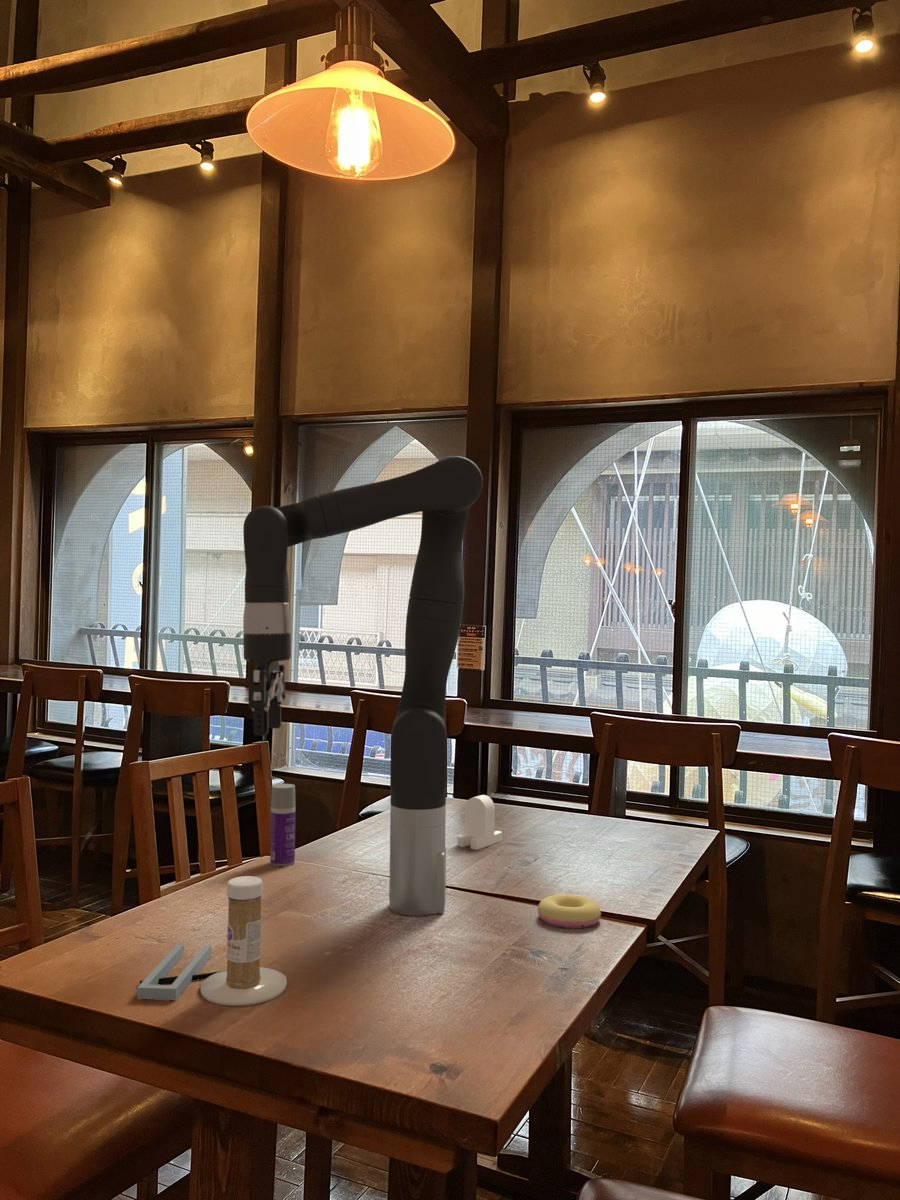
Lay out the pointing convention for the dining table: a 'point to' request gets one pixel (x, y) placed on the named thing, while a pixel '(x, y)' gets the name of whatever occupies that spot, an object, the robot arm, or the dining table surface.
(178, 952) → the grey u-shaped piece
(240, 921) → the sprinkles bottle
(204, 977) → the black marker pen
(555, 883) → the dining table surface
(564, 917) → the donut
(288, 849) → the container
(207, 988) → the coaster
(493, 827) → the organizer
